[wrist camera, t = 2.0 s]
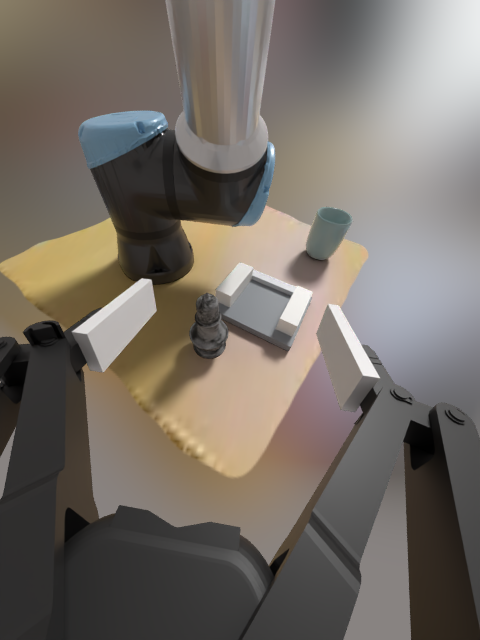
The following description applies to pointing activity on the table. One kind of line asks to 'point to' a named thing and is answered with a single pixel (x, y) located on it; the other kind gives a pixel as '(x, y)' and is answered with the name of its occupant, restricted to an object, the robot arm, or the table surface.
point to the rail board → (263, 305)
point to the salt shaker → (208, 328)
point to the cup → (327, 232)
